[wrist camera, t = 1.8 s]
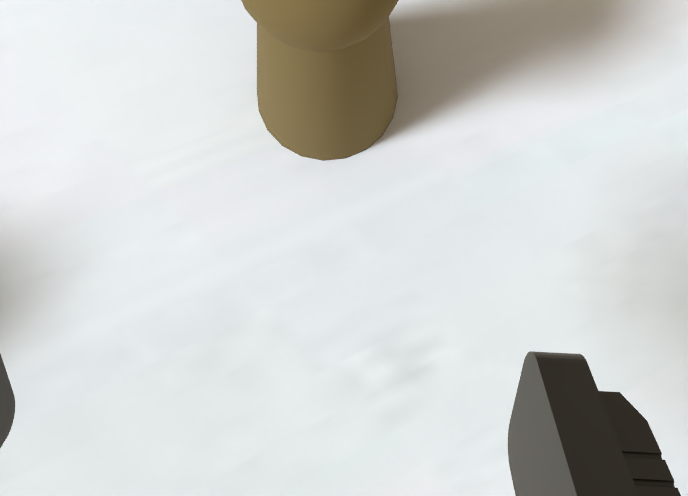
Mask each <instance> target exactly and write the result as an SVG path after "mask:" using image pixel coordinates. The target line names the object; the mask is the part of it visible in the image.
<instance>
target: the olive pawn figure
mask: <svg viewBox="0 0 688 496" xmlns="http://www.w3.org/2000/svg"><path fill="white" fill-rule="evenodd" d="M242 2H243V5H244V7H245V9H246V10H247V11H248V13H249V14H250V15H251V16H252V17H253V19H254V20H255V21H256V22H257V96H258V107H259V112H260V114H261V117H262V119H263V121H264V123H265V125H266V128H267V130H268V131H269V132H270V133H271V134H272V135H273V136H274V137H275V138H276V139H277V141H278V142H279V143H280V144H281V145H282V146H284V147H286V148H288V149H289V150H291V151H293V152H295V153H297V154H299V155H300V156H303V157H308V158H313V159H318V160H333V159H342V158H347V157H350V156H352V155H354V154H357V153H359V152H361V151H364V150H366V149H367V148H368V147H369V146H371V145H372V144H373V143H374V142H375V141H376V140H378V139H379V138H380V137H381V136H382V135H383V134H384V132H385V130H386V128H387V127H388V125H389V123H390V122H391V120H392V118H393V116H394V111H395V106H396V101H397V88H396V79H395V70H394V61H393V52H392V43H391V34H390V25H389V15H390V13H391V12H392V10H393V9H394V7H395V5H396V4H397V2H398V0H242Z"/></svg>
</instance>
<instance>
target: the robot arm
mask: <svg viewBox="0 0 688 496" xmlns="http://www.w3.org/2000/svg"><path fill="white" fill-rule="evenodd" d="M14 413H15V398H14V394H13V390H12V387H11V384H10V381H9V378H8V375H7V372H6V369H5V366H4V363H3V360H2V357H1V354H0V448H1V446H2V444H3V443H4V441H5V440H6V438H7V436H8V434H9V432H10V429H11V426H12V423H13V419H14ZM661 454H662V453H661V451H660V449H659V446H658V444H657V442H656V440H655V438H654V435H653V433H652V431H651V429H650V427H649V424H648V422H647V420H646V419H645V418H644V417H643V416H642V415H641V414H640V413H639V412H638V411H637V410H636V409H635V408H634V407H633V406H632V405H631V404H630V403H629V402H628V401H627V400H626V398H625V397H624V396H623V395H622V394H621V393H620V392H604V391H598V389H597V387H596V384H595V381H594V379H593V376H592V374H591V371H590V369H589V366H588V364H587V361H586V359H585V358H584V357H583V356H582V355H581V354H567V353H548V352H529V353H527V355H526V357H525V360H524V364H523V368H522V372H521V377H520V381H519V385H518V389H517V394H516V398H515V402H514V407H513V411H512V415H511V419H510V424H509V432H508V456H509V465H510V470H511V475H512V480H513V485H514V490H515V494H516V496H681V495H680V493H679V490H678V488H675V487H674V479H673V477H672V475H671V473H670V471H669V468H668V466H667V464H666V462H665V460H662V458H661Z"/></svg>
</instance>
